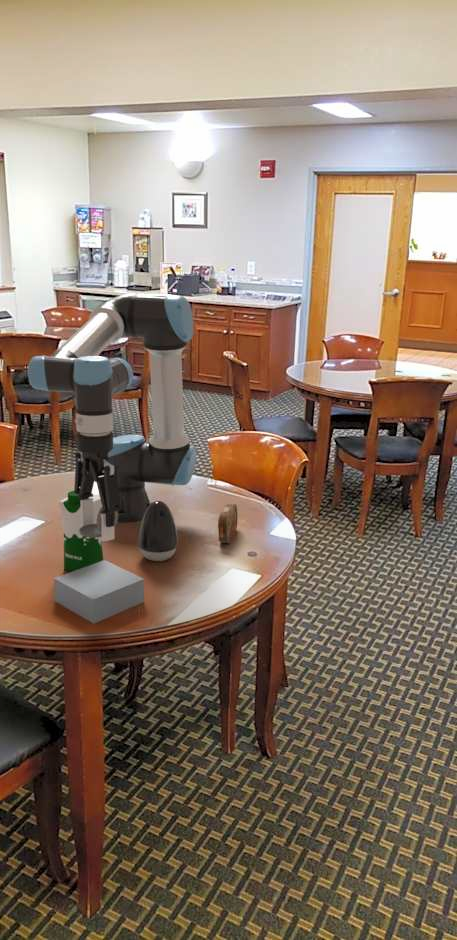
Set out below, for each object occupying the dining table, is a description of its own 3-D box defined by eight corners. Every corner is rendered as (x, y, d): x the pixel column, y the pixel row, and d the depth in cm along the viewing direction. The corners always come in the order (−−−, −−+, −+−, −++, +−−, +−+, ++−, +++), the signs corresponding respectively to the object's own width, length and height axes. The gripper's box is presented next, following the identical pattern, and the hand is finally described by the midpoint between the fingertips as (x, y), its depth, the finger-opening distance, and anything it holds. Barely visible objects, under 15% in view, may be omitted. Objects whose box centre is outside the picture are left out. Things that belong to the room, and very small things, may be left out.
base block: (55, 602, 162) (54, 578, 160) (105, 583, 172) (104, 559, 170) (93, 625, 153) (93, 599, 151) (144, 603, 163) (143, 578, 161)
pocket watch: (81, 528, 161) (79, 485, 158) (119, 527, 161) (118, 485, 159) (77, 542, 153) (75, 497, 150) (117, 541, 154) (116, 497, 151)
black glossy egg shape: (147, 568, 179) (146, 511, 175) (132, 553, 188) (131, 498, 183) (184, 561, 184) (185, 505, 179) (168, 546, 193) (168, 492, 188)
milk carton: (58, 570, 177) (54, 493, 171) (80, 557, 185) (77, 482, 179) (88, 577, 174) (85, 499, 168) (109, 563, 182) (107, 488, 176)
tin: (227, 548, 193) (228, 518, 190) (216, 547, 193) (216, 517, 191) (238, 527, 207) (238, 500, 204) (227, 526, 207) (228, 499, 205)
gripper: (55, 424, 156) (59, 522, 163) (104, 445, 141) (107, 553, 147) (86, 419, 161) (89, 515, 167) (137, 440, 145) (138, 544, 152)
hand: (97, 533), depth 157 cm, fingers closed on pocket watch, 8 cm apart
